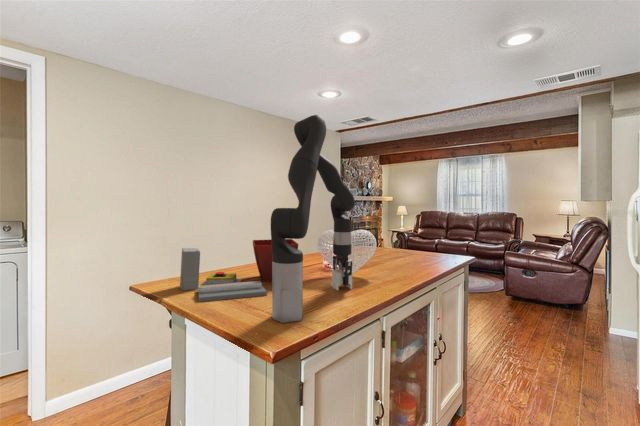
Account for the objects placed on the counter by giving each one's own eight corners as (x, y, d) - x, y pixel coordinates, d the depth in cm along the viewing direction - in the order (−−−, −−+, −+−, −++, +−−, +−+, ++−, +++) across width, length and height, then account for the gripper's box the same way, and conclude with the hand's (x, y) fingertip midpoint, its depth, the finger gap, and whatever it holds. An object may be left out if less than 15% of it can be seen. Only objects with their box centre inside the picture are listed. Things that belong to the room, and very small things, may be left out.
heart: (319, 281, 144) (320, 231, 144) (315, 273, 160) (315, 228, 159) (380, 279, 148) (381, 231, 147) (370, 272, 164) (371, 228, 163)
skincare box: (179, 286, 134) (179, 248, 133) (198, 284, 137) (197, 247, 137) (181, 291, 126) (181, 250, 126) (200, 289, 130) (200, 249, 129)
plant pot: (254, 284, 138) (254, 244, 137) (252, 274, 156) (252, 239, 156) (298, 282, 143) (298, 243, 142) (291, 272, 161) (291, 238, 161)
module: (346, 285, 137) (346, 268, 137) (352, 288, 132) (352, 271, 132) (331, 287, 134) (332, 269, 134) (336, 290, 130) (337, 272, 129)
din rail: (261, 288, 126) (261, 282, 126) (201, 293, 118) (201, 287, 118) (259, 285, 130) (259, 280, 130) (201, 290, 122) (201, 285, 122)
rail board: (267, 295, 122) (267, 291, 122) (198, 301, 113) (198, 297, 113) (259, 286, 135) (259, 282, 135) (198, 291, 126) (198, 287, 126)
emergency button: (207, 270, 146) (241, 270, 147) (207, 280, 146) (241, 280, 147) (201, 275, 137) (238, 275, 138) (202, 285, 137) (238, 285, 138)
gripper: (358, 244, 127) (358, 286, 128) (343, 240, 141) (342, 278, 141) (341, 245, 125) (340, 288, 125) (327, 241, 138) (326, 280, 139)
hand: (341, 283), depth 133 cm, fingers open, 6 cm apart
